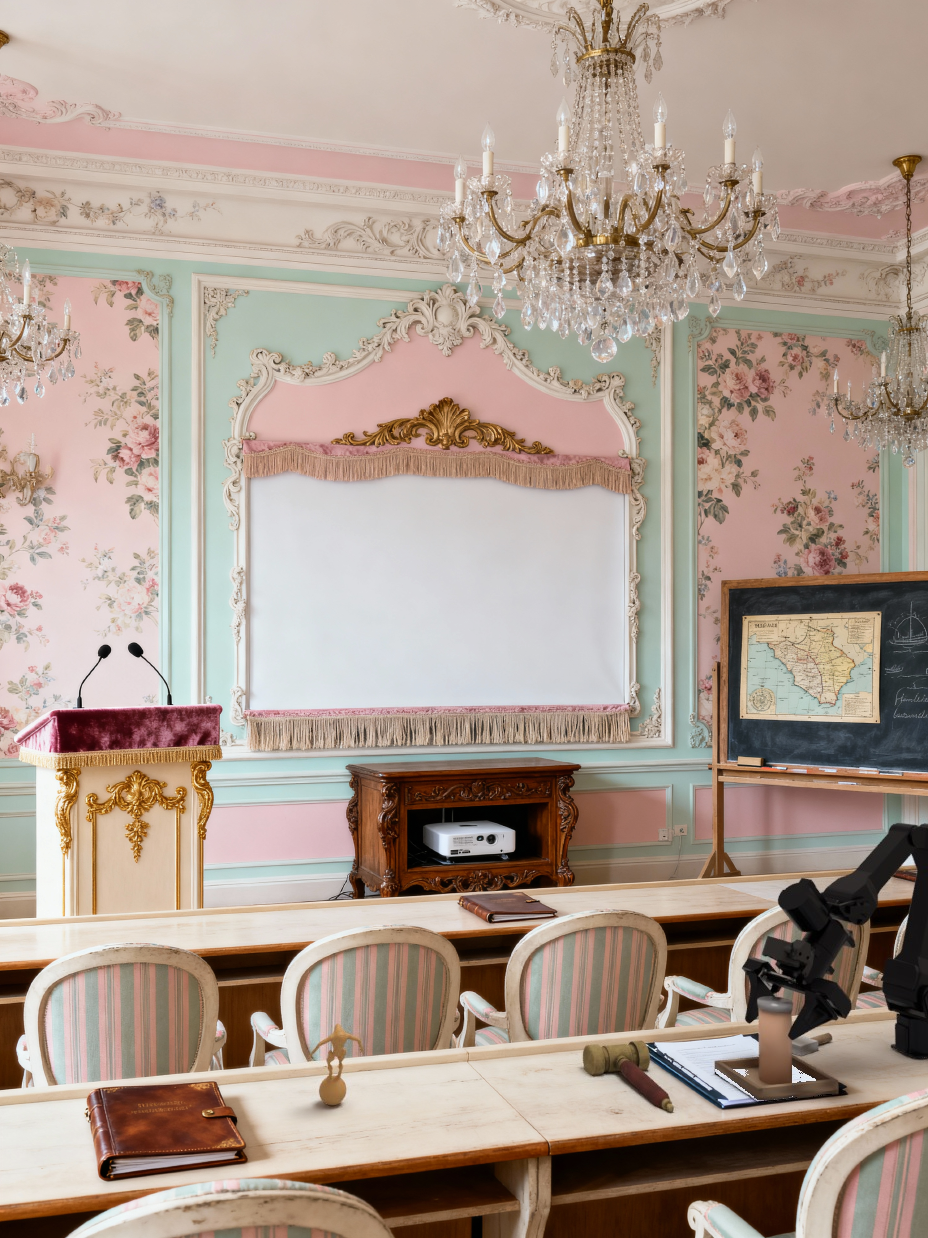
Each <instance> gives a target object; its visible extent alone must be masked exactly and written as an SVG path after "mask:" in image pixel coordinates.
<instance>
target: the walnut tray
mask: <svg viewBox="0 0 928 1238" xmlns="http://www.w3.org/2000/svg"><path fill="white" fill-rule="evenodd" d="M792 1065H793V1066H794V1067H796V1068H797V1069H798V1070H800V1071H802V1072H803V1073H805V1074H807V1075H809V1076H811V1077H812V1078H815V1079H816V1081H806V1082H801V1081H799V1082H797V1083H787V1084H777V1085H772V1084H768V1083H765V1082H763V1081H761V1080H760V1079H759V1056H751V1057H742V1058H741V1057H740V1058H729V1059H720V1060H714V1070H715V1069H717V1070H719V1071H720V1072H721V1073H723V1074H724V1075H726V1076H727V1077H728V1078H730V1079H731V1080H732V1081H734V1082H735V1083H737V1084H738V1085H739V1086H740V1087H742V1088H743V1089H745V1091H747V1092H748V1093H750V1094H751V1095H752V1096H754V1098H756V1099H757V1100H764V1101H765V1100H774V1099H775V1100H776V1099H783V1098H784V1099H785V1098H789V1097H792V1096H793V1097H794V1098H795V1097H797V1098H795V1099H802V1098H803V1099H806V1098H811V1097H813V1096H814V1097H821V1096H822V1095H821V1094H832V1095H839V1080H838V1079H837V1078H835V1077H833V1076H831V1075H829V1074H828V1073H827V1072H824V1071H822V1070H821V1069H819V1068H817V1067H815V1066H813V1065H812V1064H810V1063H808V1062H806V1061H805V1060H802V1059H800V1058H799V1057H797V1056H795V1055H793V1054H792ZM733 1069H745V1070H746V1071H747V1070H748V1071H747V1072H746V1071H745V1072H746V1073H747V1074H749V1075H747V1074H746V1073H745V1074H746V1076H745V1077H744V1076H743V1075H741V1074H740V1073H738V1072H736V1071H735V1070H733ZM802 1072H801V1073H802ZM799 1073H800V1072H799ZM801 1073H800V1074H801ZM803 1073H802V1074H803ZM800 1078H801V1077H800ZM818 1095H819V1096H818ZM820 1095H821V1096H820ZM822 1097H823V1096H822Z"/></svg>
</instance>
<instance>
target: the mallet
mask: <svg viewBox="0 0 928 1238" xmlns="http://www.w3.org/2000/svg"><path fill="white" fill-rule="evenodd" d="M832 1041H833V1035H832V1034H831V1033H829V1032H826V1033H822V1034H819V1035H816V1036H813V1037H806V1036H804V1035H802V1036H800V1037H798V1038H796V1039H794V1040H792V1055H793V1054H794V1055H796V1056H799V1057H802V1056H805V1055H809V1054H812V1053H814V1052H815V1053H816V1052H819V1046H820V1045H823V1044H826V1043H829V1042H832Z"/></svg>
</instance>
